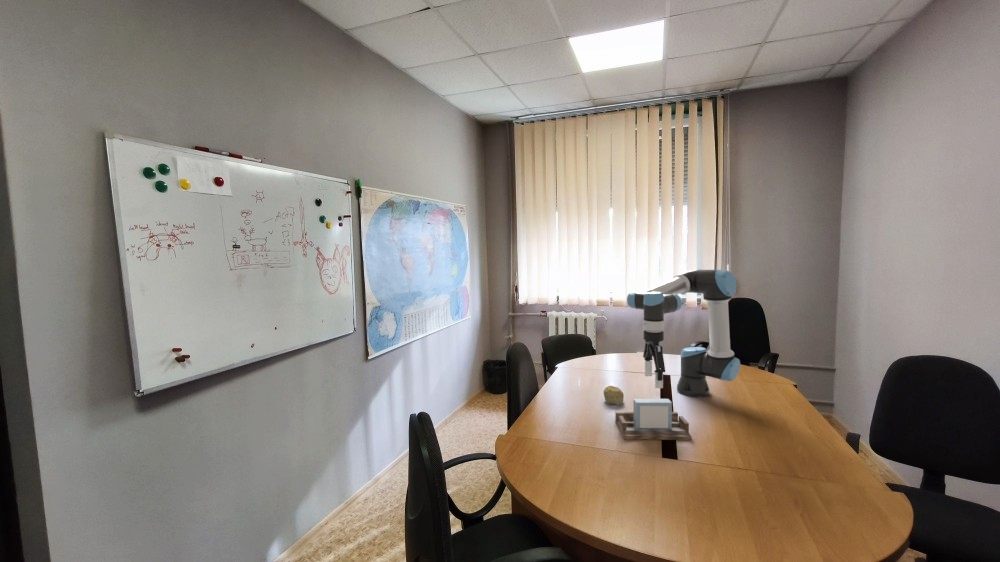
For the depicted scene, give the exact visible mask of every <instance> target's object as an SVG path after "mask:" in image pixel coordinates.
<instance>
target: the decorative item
mask: <svg viewBox="0 0 1000 562" xmlns="http://www.w3.org/2000/svg"><path fill="white" fill-rule="evenodd" d="M624 395H625V394H624V392H623V391H622V389H620V387H619V386H618V387H617V386H614V385H608V386H606V387H605V388H604V389H603V397H604V400H605V402H606V403H607V404H608V405H616V406H621V405H622V404H624V398H625V396H624Z"/></svg>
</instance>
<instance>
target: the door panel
mask: <svg viewBox="0 0 1000 562" xmlns="http://www.w3.org/2000/svg"><path fill="white" fill-rule="evenodd" d="M672 404H673V403H672V401H671V400H670V399H669V398H633V412H634V428H635V429H672V412H673V407H672V406H673V405H672Z"/></svg>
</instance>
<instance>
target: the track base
mask: <svg viewBox="0 0 1000 562" xmlns="http://www.w3.org/2000/svg"><path fill="white" fill-rule="evenodd" d="M614 417H615V418H614V419H615V424H616V426H617V428H618V430H619V432H620V434H621V436H622V438H623V440H638V439H639V440H641V439H661V440H660V441H662V440H663V441H665V440H666V441H692V437H693V436H692V435H691V434H690V430H689V429H690V423H689V422H688V421H687V419H685V418H684V416H682V415H680V416H679V412H677V411H672V429H635V428H634V411H615V416H614Z"/></svg>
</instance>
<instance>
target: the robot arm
mask: <svg viewBox="0 0 1000 562" xmlns="http://www.w3.org/2000/svg"><path fill="white" fill-rule="evenodd" d="M737 288H738V283H737V279H736V277H735V274H734V273H732V272H731V271H729V270H724V269H702V268H701V269H699V268H697V269H693V270H692V269H691V270H688V271H684V272H682V273H678V274H675V275H674V276H673V277H672V278H671V279H669V280H667V281H664V282H662V283H660V284H659V283H658V284H656V285H654V286H652V287H650V288H647V289H644V290H642V291H637V290H636V291H631V292H629V293H628V294H627V297H626V303H627V306H628V307H629V308H631V309H635V310H642V311H643V322H642V323H641V324H642V325H643V340H644V341H645V342H644V343H645V344H644V349H643V355H642V357H643V358H644V376H645V377H652V376H653V363H654V366H655V370H654V376H655V377H654V388H655V389H663V388H664V373H666V366H665V359H664V355H663V354H664V353H663V352H664V351H663V346H662V345H660V342H663V341H664V336H665V335H664V334H665V332H664V331H665V330H664V329H665V320H664V316H665V314H670V313H675V312H678V311H680V309H681V308H682V307H683V300H682V298H681V297H680V295H685V294H686V293H693V294H701V295H703V297H702V298H703V300H704V301H705V302H706V303H707V318H708V321H707V322H708V336H709V339H708V340H709V349H708V350H707V348H706V347H702V346H689V347H685V348H682V350H681V353H680V377H679V379H678V382H677V385H676V391H677V392H678V393H680V394H681V395H683V396H688V397H693V398H694V397H695V398H705V397H708V396H709V395H710V386H709V384H708V382H707V377H709V378H713V379H717V380H720V381H726V382H733V381H734V380H735V379H736V378H737V377H738V375H739V372H740V369H741V360H740V359H739V358H737V357H735V352H734V351H733V350H732V349H731V338H730V337H731V335H730V334H731V333H730V316H729V315H730V313H729V302H730V301H731V299H732V296H734V295H735V294H736V292H737Z"/></svg>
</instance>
